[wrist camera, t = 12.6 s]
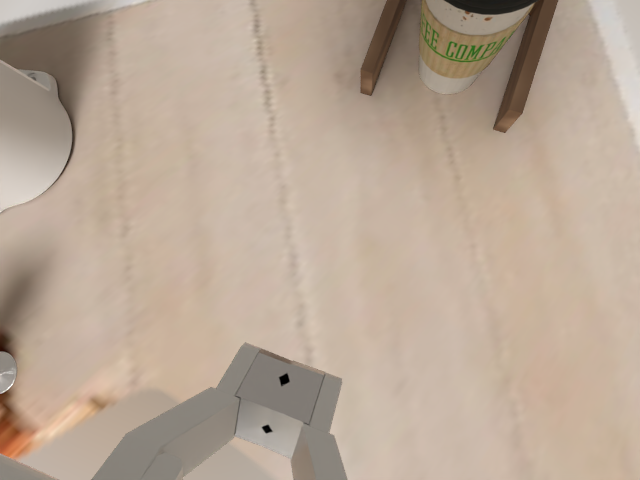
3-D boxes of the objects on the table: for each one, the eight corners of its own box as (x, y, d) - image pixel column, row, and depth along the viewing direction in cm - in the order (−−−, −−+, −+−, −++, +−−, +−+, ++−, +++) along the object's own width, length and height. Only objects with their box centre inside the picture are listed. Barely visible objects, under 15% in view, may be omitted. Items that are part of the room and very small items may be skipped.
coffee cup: (387, 94, 39) (404, -30, 24) (419, 15, 40) (454, -150, 25) (478, 122, 37) (556, 9, 23) (509, 39, 38) (603, -121, 24)
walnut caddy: (360, 92, 39) (360, 70, 35) (404, -24, 41) (408, -58, 37) (504, 132, 37) (522, 113, 33) (545, 7, 38) (566, -26, 34)
